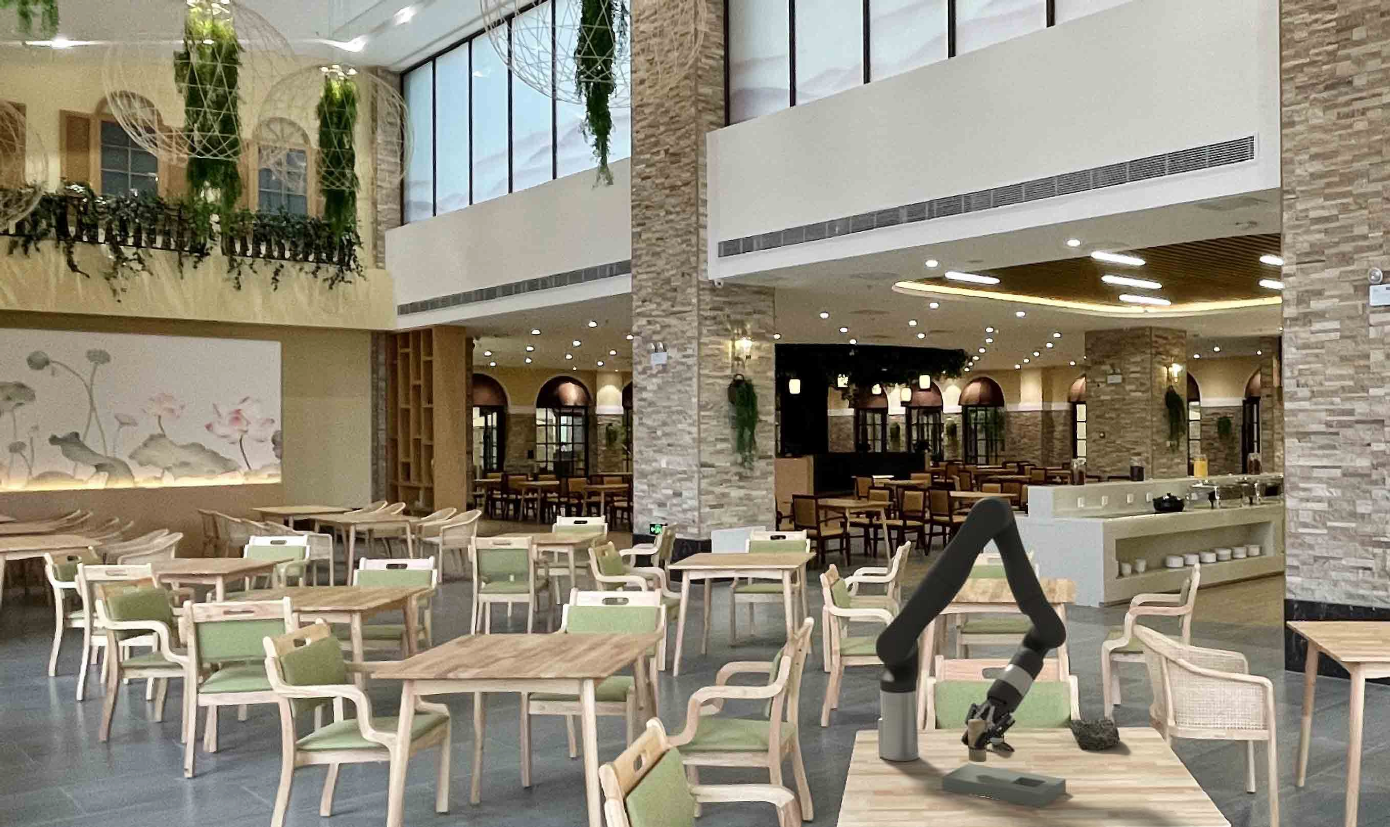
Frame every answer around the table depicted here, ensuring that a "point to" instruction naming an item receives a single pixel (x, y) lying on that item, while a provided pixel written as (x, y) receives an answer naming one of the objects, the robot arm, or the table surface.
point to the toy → (998, 741)
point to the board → (1004, 785)
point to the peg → (973, 733)
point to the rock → (1094, 732)
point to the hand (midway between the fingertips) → (970, 745)
